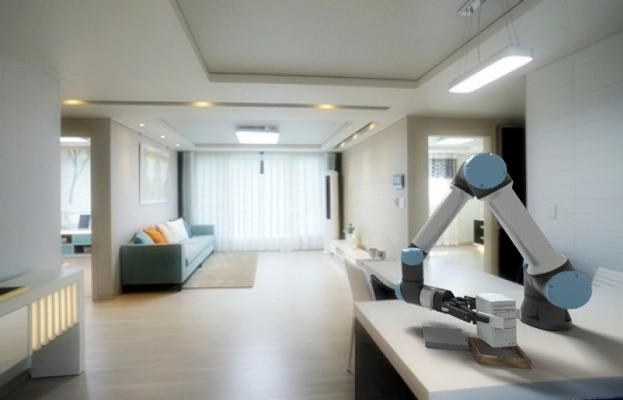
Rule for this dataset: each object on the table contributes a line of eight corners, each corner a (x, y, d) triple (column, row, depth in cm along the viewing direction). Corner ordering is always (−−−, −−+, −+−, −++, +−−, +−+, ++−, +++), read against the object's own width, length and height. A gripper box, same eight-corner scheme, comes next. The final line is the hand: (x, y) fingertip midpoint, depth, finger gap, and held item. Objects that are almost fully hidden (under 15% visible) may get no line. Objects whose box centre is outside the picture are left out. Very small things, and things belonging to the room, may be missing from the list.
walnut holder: (513, 346, 94) (513, 340, 94) (531, 368, 82) (531, 361, 82) (467, 342, 97) (467, 336, 97) (478, 363, 85) (477, 355, 85)
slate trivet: (460, 333, 104) (460, 328, 104) (468, 350, 92) (468, 345, 92) (422, 330, 107) (422, 325, 107) (425, 346, 95) (425, 341, 95)
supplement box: (475, 336, 93) (474, 293, 93) (499, 334, 93) (498, 292, 93) (492, 348, 85) (490, 301, 85) (518, 346, 86) (516, 299, 86)
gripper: (457, 303, 110) (530, 322, 92) (417, 319, 98) (492, 344, 79) (456, 282, 110) (529, 296, 92) (416, 294, 98) (491, 314, 79)
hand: (512, 318), depth 86 cm, fingers closed on supplement box, 10 cm apart
